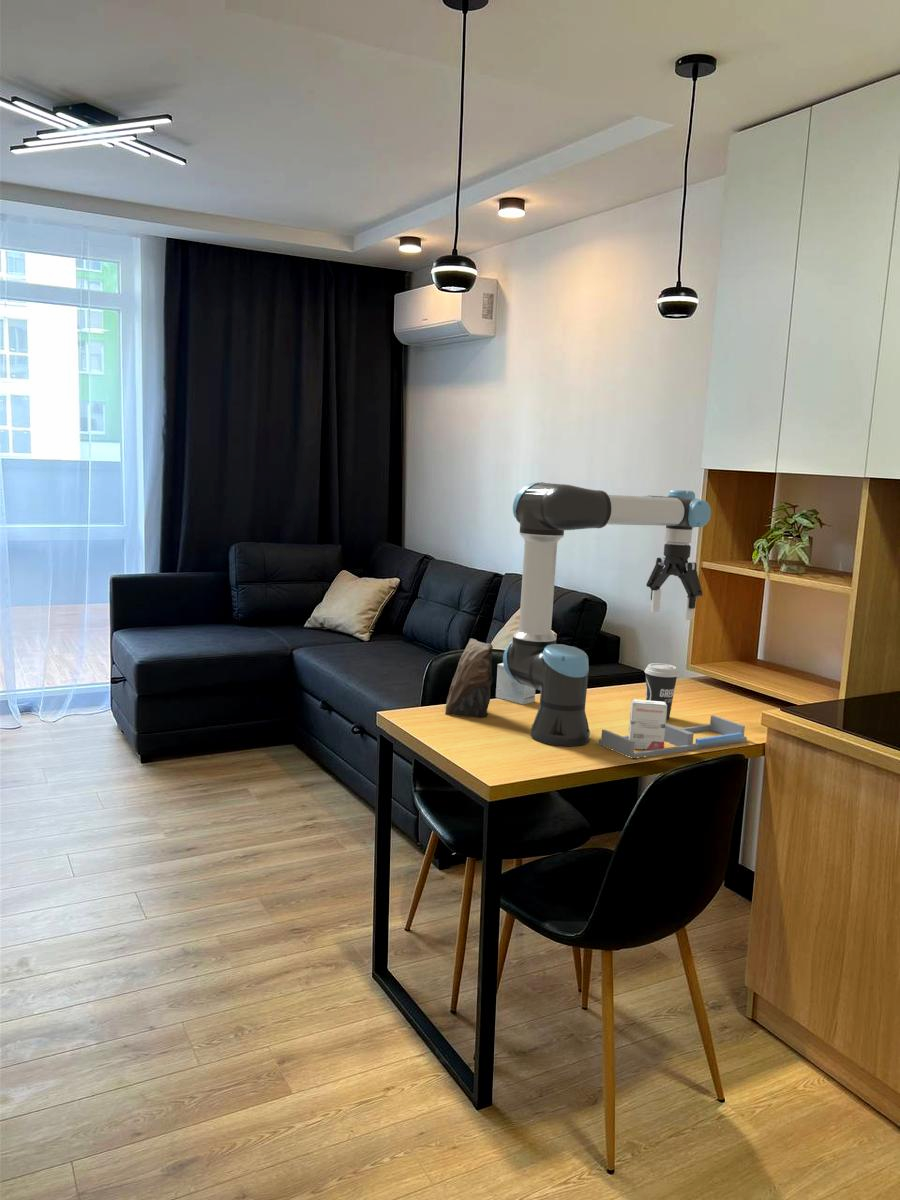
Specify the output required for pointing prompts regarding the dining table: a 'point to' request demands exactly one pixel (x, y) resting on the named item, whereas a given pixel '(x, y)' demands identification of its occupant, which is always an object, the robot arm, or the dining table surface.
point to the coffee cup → (661, 683)
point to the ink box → (647, 724)
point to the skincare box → (512, 688)
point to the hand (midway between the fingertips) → (671, 615)
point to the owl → (471, 682)
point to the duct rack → (680, 738)
